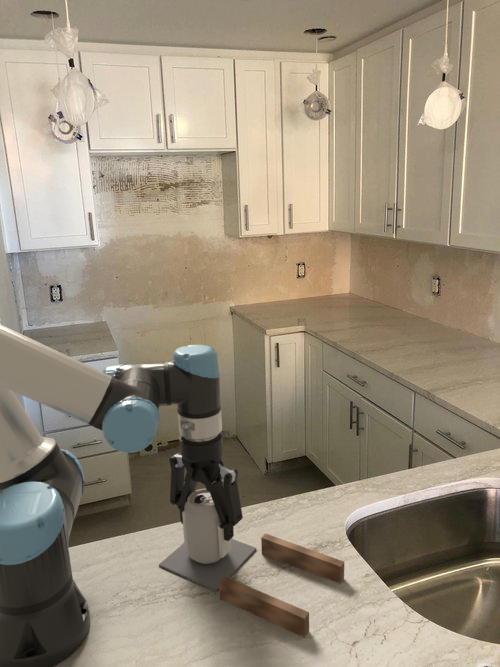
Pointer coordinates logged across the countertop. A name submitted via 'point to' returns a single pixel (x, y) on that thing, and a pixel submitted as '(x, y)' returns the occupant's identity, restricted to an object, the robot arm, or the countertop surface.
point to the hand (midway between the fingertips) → (207, 545)
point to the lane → (272, 606)
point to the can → (202, 527)
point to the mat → (210, 572)
